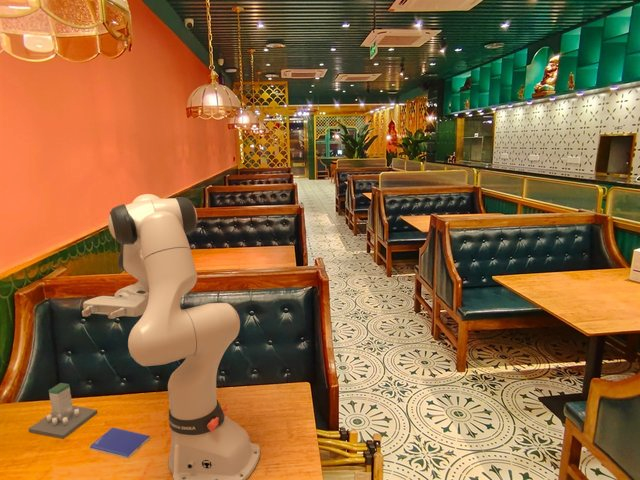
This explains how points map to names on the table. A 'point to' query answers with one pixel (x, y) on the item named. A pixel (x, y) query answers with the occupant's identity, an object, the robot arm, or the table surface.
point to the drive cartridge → (61, 402)
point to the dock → (58, 430)
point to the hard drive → (120, 442)
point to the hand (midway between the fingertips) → (96, 315)
